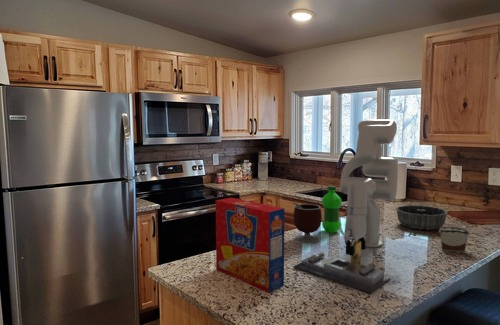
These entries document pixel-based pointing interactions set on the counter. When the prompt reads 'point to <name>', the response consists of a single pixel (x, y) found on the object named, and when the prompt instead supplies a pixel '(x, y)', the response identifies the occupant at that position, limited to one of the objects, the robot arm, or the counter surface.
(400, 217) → the bundt pan
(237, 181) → the counter surface
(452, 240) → the food container
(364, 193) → the robot arm
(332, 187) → the plastic bottle
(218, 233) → the pasta box
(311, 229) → the mate gourd
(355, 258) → the brass pin
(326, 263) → the gray slotted panel
